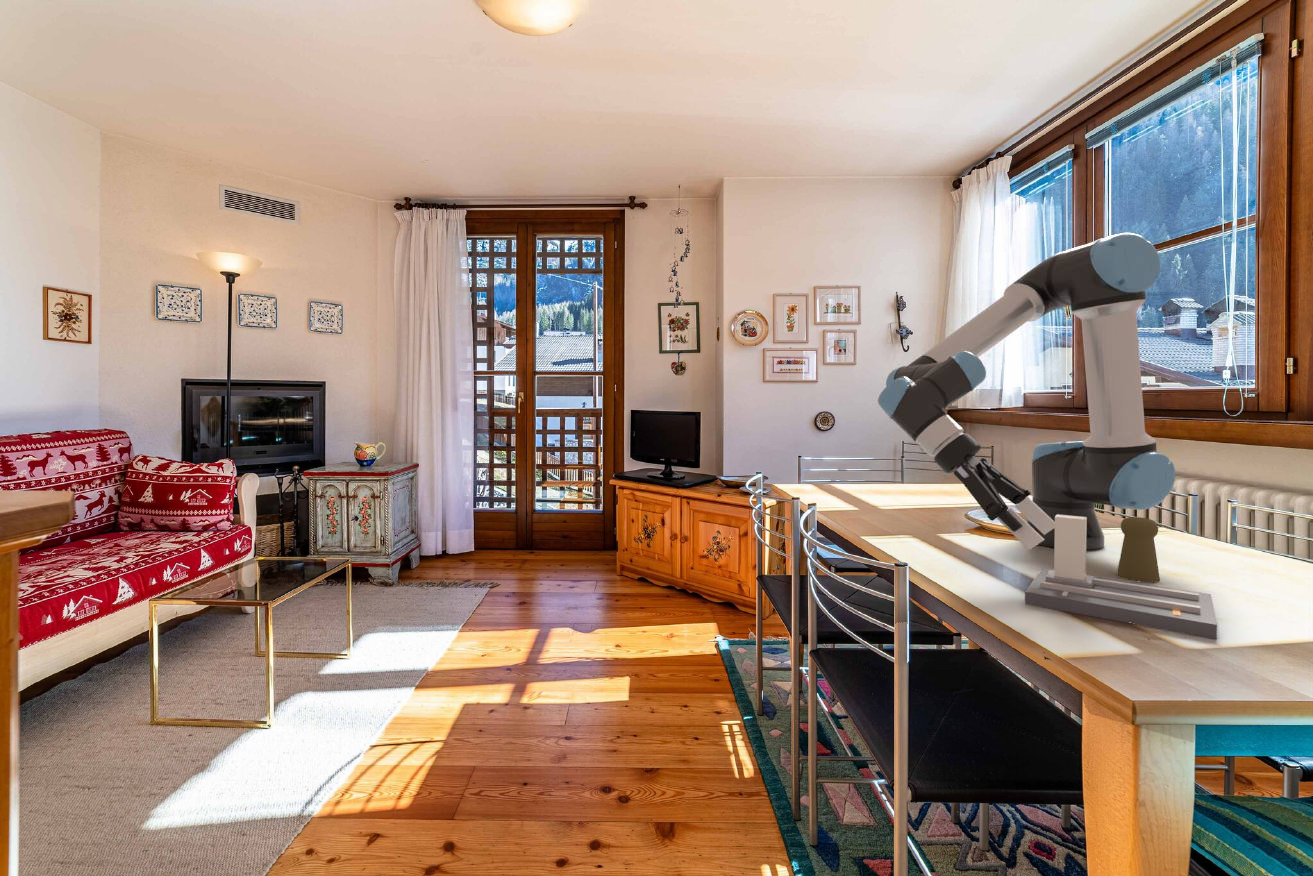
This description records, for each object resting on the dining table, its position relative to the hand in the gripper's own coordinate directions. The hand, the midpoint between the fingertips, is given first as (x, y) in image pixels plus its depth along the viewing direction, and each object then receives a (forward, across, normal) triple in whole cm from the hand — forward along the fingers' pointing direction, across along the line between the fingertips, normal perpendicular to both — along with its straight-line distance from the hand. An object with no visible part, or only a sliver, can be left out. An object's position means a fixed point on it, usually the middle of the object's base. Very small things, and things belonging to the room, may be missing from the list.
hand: (1044, 537), depth 94 cm
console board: (+14, -1, 0) cm, 14 cm away
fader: (+8, -1, -3) cm, 8 cm away
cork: (+15, -21, +1) cm, 26 cm away
